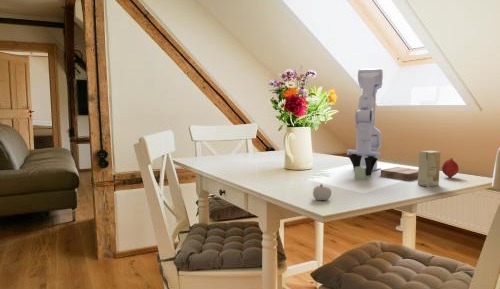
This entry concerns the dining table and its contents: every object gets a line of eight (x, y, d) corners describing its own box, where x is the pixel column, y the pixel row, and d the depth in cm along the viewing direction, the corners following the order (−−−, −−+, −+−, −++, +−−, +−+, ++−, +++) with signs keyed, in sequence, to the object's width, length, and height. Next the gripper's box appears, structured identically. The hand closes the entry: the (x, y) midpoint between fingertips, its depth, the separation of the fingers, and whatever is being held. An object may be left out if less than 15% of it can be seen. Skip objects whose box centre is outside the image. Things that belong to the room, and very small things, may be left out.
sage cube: (354, 178, 155) (354, 166, 155) (361, 176, 158) (361, 165, 158) (364, 179, 152) (364, 168, 151) (371, 178, 154) (371, 167, 154)
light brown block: (380, 176, 159) (380, 169, 158) (397, 172, 166) (397, 166, 166) (408, 180, 149) (408, 174, 149) (424, 176, 157) (425, 170, 156)
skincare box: (427, 187, 138) (429, 152, 136) (417, 184, 141) (418, 151, 140) (439, 185, 141) (441, 151, 139) (429, 183, 144) (430, 150, 143)
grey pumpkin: (321, 203, 116) (321, 186, 116) (308, 199, 121) (308, 183, 120) (335, 200, 120) (335, 183, 119) (322, 197, 124) (322, 180, 124)
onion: (441, 178, 153) (442, 158, 153) (441, 175, 159) (442, 156, 158) (458, 179, 151) (459, 158, 150) (458, 177, 156) (459, 157, 155)
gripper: (342, 139, 157) (341, 172, 158) (373, 142, 145) (372, 178, 147) (353, 138, 161) (352, 171, 162) (384, 140, 149) (383, 176, 151)
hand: (362, 174), depth 155 cm, fingers open, 5 cm apart
